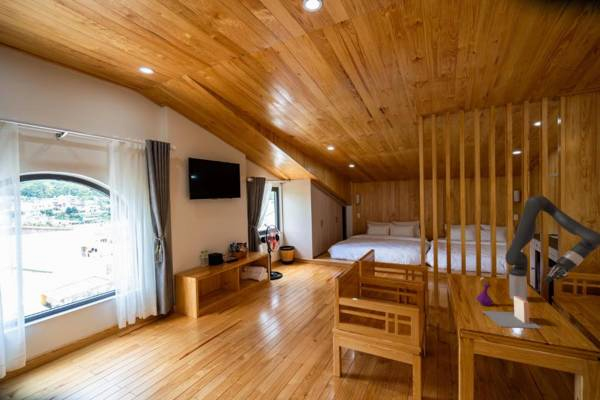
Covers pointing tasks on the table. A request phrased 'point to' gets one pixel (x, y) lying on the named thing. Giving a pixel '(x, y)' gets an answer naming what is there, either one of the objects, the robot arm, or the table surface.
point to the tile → (521, 309)
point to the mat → (509, 320)
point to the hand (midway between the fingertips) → (545, 282)
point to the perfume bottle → (485, 295)
